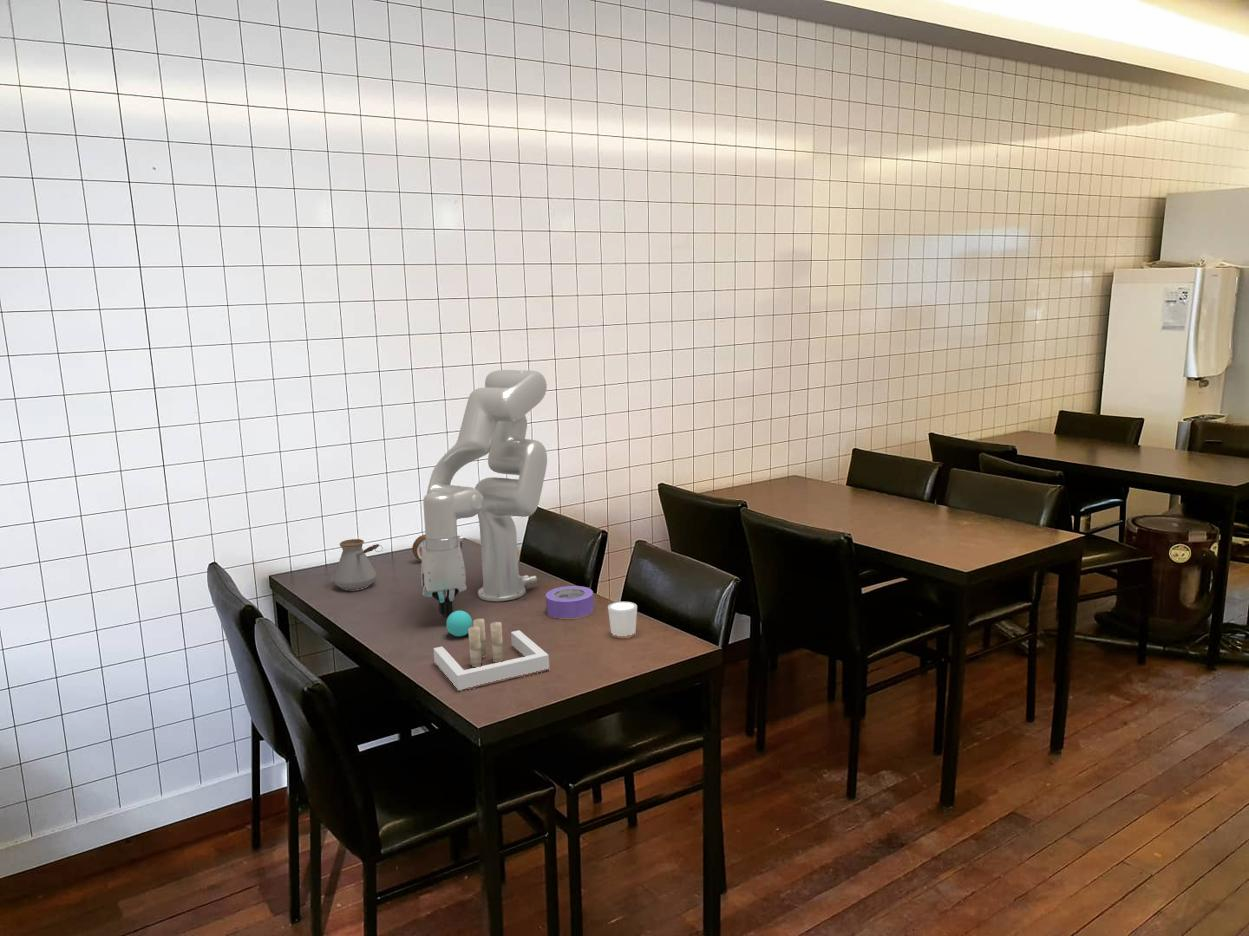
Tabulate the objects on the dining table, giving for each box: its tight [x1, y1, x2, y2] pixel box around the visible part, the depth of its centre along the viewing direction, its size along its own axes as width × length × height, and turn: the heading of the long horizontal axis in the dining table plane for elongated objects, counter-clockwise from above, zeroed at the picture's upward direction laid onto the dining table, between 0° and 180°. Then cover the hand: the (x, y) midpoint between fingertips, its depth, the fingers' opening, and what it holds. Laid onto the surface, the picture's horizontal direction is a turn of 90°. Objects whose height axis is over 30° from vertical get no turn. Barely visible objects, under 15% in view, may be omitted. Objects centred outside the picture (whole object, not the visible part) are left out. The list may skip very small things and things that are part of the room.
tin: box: [412, 534, 463, 563], centre depth 281 cm, size 15×3×8 cm, turn 120°
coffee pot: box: [333, 538, 384, 590], centre depth 253 cm, size 21×12×15 cm, turn 43°
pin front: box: [472, 618, 488, 657], centre depth 205 cm, size 2×2×8 cm
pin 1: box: [467, 625, 483, 666], centre depth 201 cm, size 2×2×8 cm
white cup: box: [607, 601, 638, 636], centre depth 216 cm, size 7×7×7 cm
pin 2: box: [490, 621, 504, 661], centre depth 203 cm, size 2×2×8 cm
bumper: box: [433, 629, 550, 691], centre depth 200 cm, size 20×17×4 cm
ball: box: [445, 610, 473, 637], centre depth 219 cm, size 6×6×6 cm
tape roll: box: [545, 585, 595, 618], centre depth 233 cm, size 12×12×5 cm
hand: (446, 616), depth 227 cm, fingers closed
